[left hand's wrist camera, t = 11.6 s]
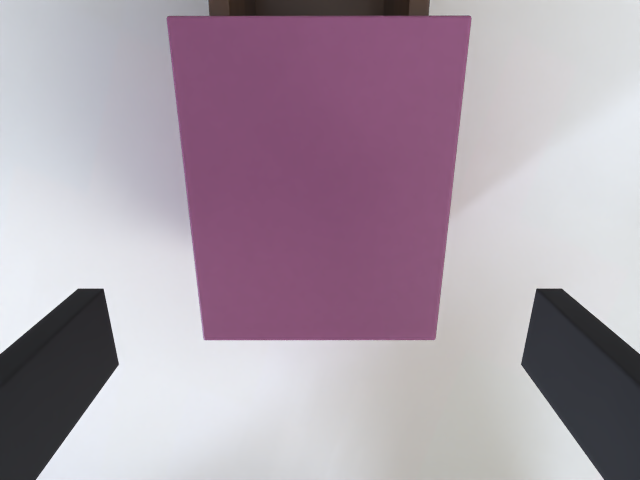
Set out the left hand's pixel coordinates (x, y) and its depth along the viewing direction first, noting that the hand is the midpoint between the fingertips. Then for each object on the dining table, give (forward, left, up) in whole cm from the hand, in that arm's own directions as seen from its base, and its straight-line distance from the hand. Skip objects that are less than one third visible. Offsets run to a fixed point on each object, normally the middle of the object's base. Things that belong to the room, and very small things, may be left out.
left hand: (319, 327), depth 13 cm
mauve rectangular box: (+2, -2, -16) cm, 16 cm away
